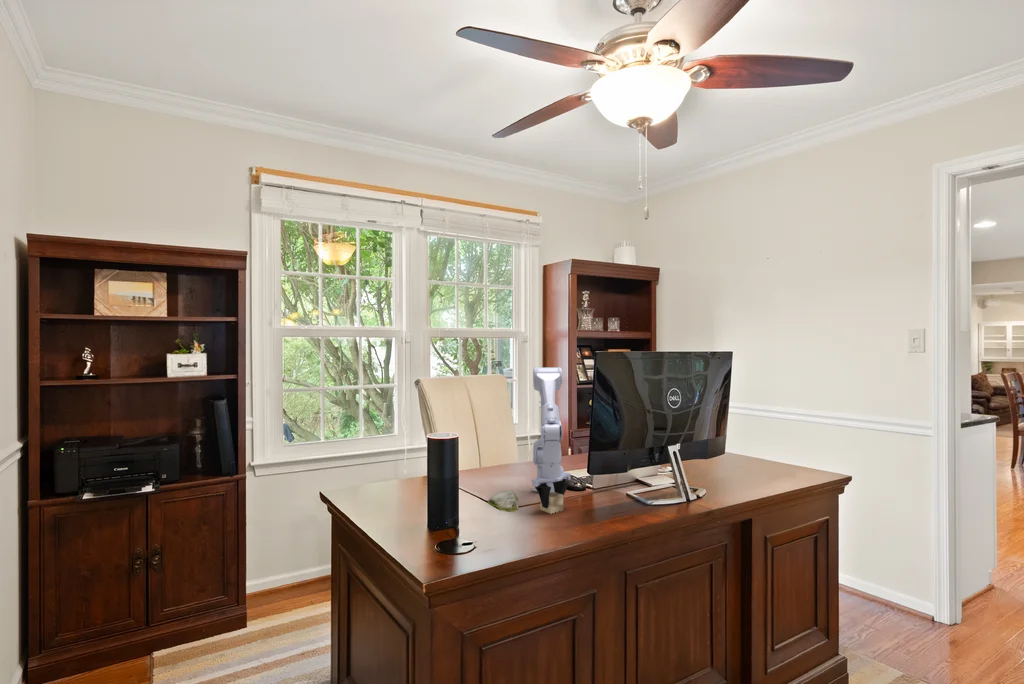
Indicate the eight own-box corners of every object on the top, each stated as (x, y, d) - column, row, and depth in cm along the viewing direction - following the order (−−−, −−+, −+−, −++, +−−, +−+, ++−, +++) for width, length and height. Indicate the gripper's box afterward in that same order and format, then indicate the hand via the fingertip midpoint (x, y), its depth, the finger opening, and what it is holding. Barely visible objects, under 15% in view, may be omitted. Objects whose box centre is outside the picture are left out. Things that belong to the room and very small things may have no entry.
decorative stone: (485, 495, 197) (484, 483, 197) (514, 493, 198) (514, 482, 198) (488, 513, 174) (488, 501, 174) (521, 512, 175) (521, 499, 175)
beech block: (552, 507, 179) (552, 491, 179) (563, 510, 175) (563, 494, 175) (540, 510, 176) (540, 494, 176) (551, 513, 172) (551, 497, 172)
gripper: (542, 467, 168) (542, 513, 168) (577, 461, 177) (577, 504, 177) (527, 463, 174) (527, 507, 173) (562, 457, 182) (562, 499, 182)
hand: (551, 505), depth 175 cm, fingers closed on beech block, 5 cm apart
